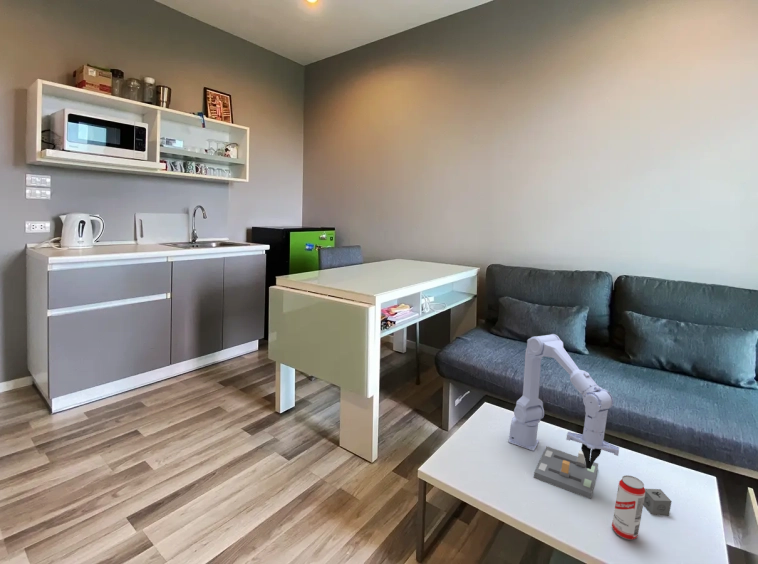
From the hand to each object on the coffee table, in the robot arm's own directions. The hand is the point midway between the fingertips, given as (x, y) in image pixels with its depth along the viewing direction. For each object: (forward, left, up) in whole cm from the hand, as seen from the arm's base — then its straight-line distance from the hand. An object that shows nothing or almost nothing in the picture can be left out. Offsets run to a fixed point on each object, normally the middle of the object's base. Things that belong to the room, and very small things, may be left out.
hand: (588, 466), depth 128 cm
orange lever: (-7, 0, -6) cm, 9 cm away
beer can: (+11, -13, -8) cm, 19 cm away
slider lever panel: (-7, +5, -8) cm, 11 cm away
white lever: (-3, +9, -5) cm, 11 cm away
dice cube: (+18, +3, -8) cm, 20 cm away
